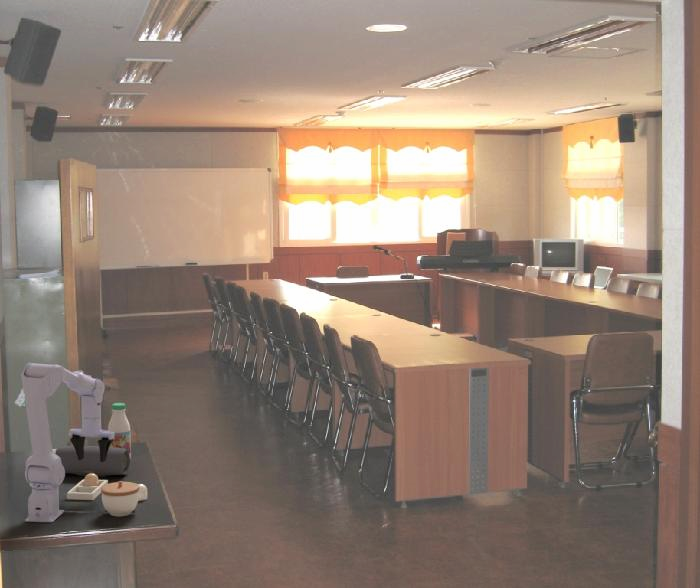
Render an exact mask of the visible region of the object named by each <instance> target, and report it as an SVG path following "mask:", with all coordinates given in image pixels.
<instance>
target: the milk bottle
mask: <svg viewBox="0 0 700 588" xmlns="http://www.w3.org/2000/svg"><path fill="white" fill-rule="evenodd" d="M126 410H127V409H126V403H123V402H115V403H112V404H111V413H112V414H111V417H110V420H109V422H108V426H107V431H110V432H114V439H113V441H112V443H111V445H110V447H114V448H123V449H128V451H129V455H130V460H131V459H132V451H131V450H132V449H131V448H132V447H131V441H132V440H131V425H130V423H129V420H128V418H127V415H126Z"/></svg>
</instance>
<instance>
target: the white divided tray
mask: <svg viewBox="0 0 700 588" xmlns="http://www.w3.org/2000/svg"><path fill="white" fill-rule="evenodd" d="M84 479H85V478H84ZM84 479H82V480H81V481H79V482H78V483H77V484H75V486H73V487H72V488H71V489H70V490H69V491H68V492H67V493H66V500H79V501H80V500H81V501H94V500H95V499H96V498H97V497H98V496H100V494H102V492H101V488H102V487H103V486H104V485H106V484H109V480H108V479H98V486H84Z"/></svg>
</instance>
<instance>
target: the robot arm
mask: <svg viewBox="0 0 700 588" xmlns="http://www.w3.org/2000/svg"><path fill="white" fill-rule="evenodd" d="M20 377H21V383H22V390H23V395H24V403H25V411H26V418H27V424H28V430H29V437H30V444H31V451H32V454H31V455H30V456H28V458H27V459H26V460H25V471H24V477H25V480H26V482H27V484H28V483H29V487H31V494H30V495H29V496H28V499H27V511H28V512H27V515H28V516H27V518H26V519H24V520H25V521H24V522H31V523H32V522H34V523H53V522H55V520H56V519H58V518H59V517H60V516H62V514H64V513H65V510H64V509H60V497H59V496H60V492H59V486H61V485H62V483H63V482H64V479H65V476H66V473H65V470H64V467H63V465H62V463H61V458H60V457H59V456H57V455H56V454H55V453H56V452H54V451H53V444H52V440H51V439H52V438H51V437H52V436H51V431H50V424H49V417H48V416H49V415H48V410H47V403H46V399H47V398H50V397H51V396H53V394H54V393H55V392H56V390H57V389H58V387H59V386H60V384H61V383H65V384H66V386H67V388H68V389H70V390H72V391H73V392H76V393H77V395H78V396H79V397H80V398H81V399H80V400H81V428H71V429H69V430H68V436H69V437H70V439H69V440H70V443H71V445H72V446H74V448H75V450H76V453H77V457H78V460H82V459H84V446H85V442H86V441H85V440H86V438H97V439H98V441H97V443H98V446H99V448H100V461H101V462H104V461H106V457H107V453H108V450H109V447H110V445H111V443H112V441H113V439H114V432H110V431H108V430H105V429H102V407H101V406H102V402H103V400H104V399H103V395H104V393H105V390H106V389H105V388H106V386H105V383H104V382H103V381H102V380H101V378H93V377H92V375H90V374H85V373H84V371H83V370H80V369H79V370H76V371H70V370H69V369H66V368H64V365H60V364H50V363H49V364H48V363H47V364H46V363H45V364H44V363H35V362H28V363H27V364H26V365H25V366H24V368H23V370H22V372H21V374H20Z"/></svg>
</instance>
